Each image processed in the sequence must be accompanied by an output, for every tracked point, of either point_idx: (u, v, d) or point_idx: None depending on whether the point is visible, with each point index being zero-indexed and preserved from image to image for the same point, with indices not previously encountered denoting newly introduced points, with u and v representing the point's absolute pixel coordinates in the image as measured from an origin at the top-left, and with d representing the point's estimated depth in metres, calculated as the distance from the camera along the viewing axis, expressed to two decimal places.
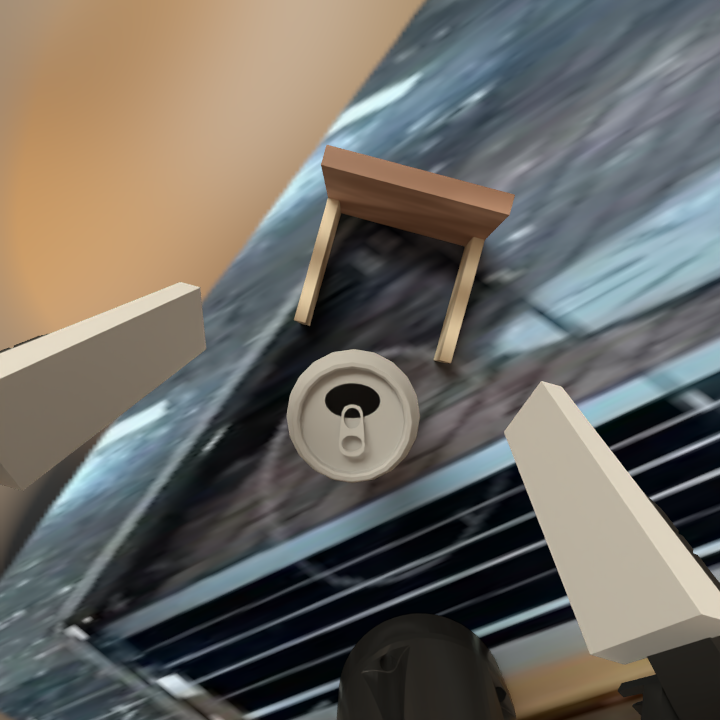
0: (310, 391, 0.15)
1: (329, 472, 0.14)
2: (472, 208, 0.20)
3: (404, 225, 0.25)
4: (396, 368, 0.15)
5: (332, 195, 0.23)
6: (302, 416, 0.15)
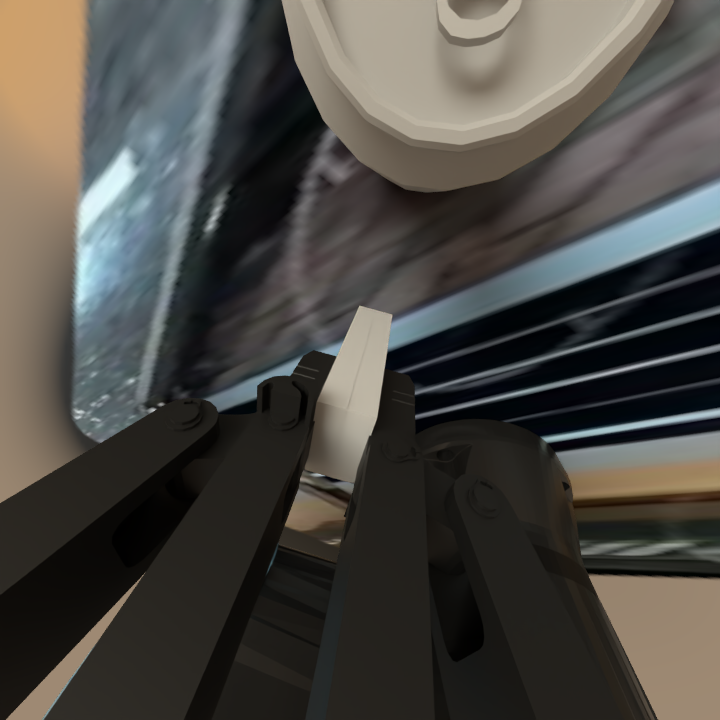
0: None
1: (403, 121, 0.05)
2: None
3: None
4: None
5: None
6: None
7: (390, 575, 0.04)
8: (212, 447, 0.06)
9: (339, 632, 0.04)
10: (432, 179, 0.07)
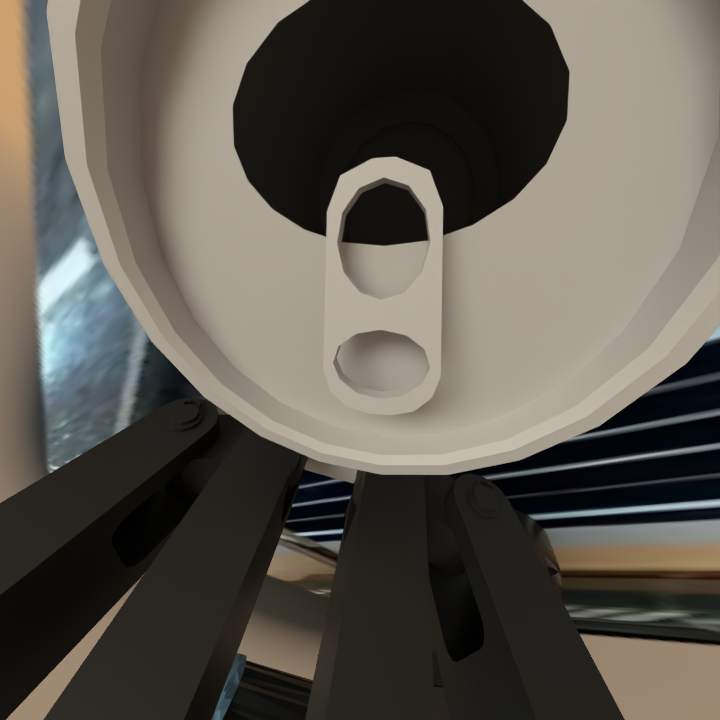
0: (144, 89, 0.03)
1: (304, 445, 0.04)
2: None
3: None
4: None
5: None
6: (164, 241, 0.03)
7: (390, 575, 0.04)
8: (212, 447, 0.06)
9: (339, 632, 0.04)
10: None
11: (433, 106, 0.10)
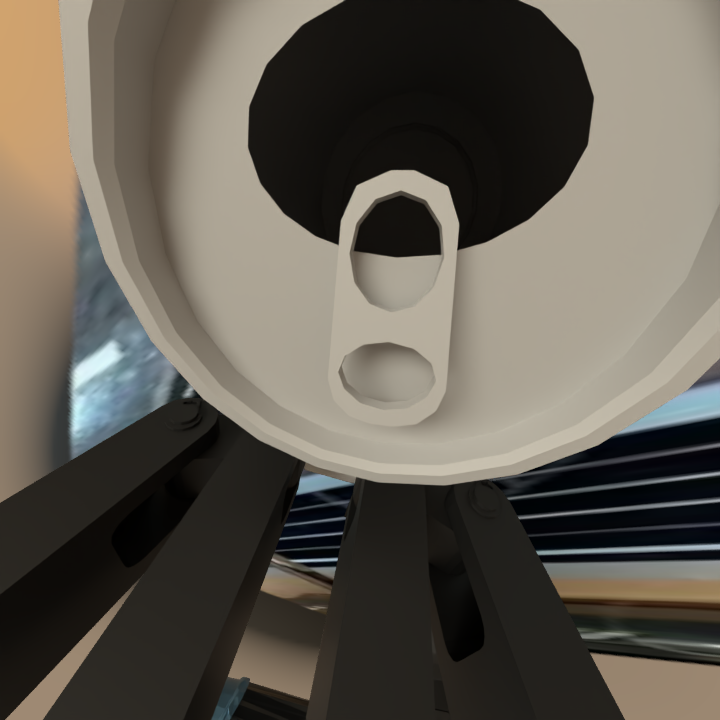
0: (156, 83, 0.02)
1: (303, 450, 0.04)
2: None
3: None
4: None
5: None
6: (169, 240, 0.03)
7: (391, 575, 0.04)
8: (212, 447, 0.06)
9: (340, 632, 0.04)
10: None
11: (441, 109, 0.10)
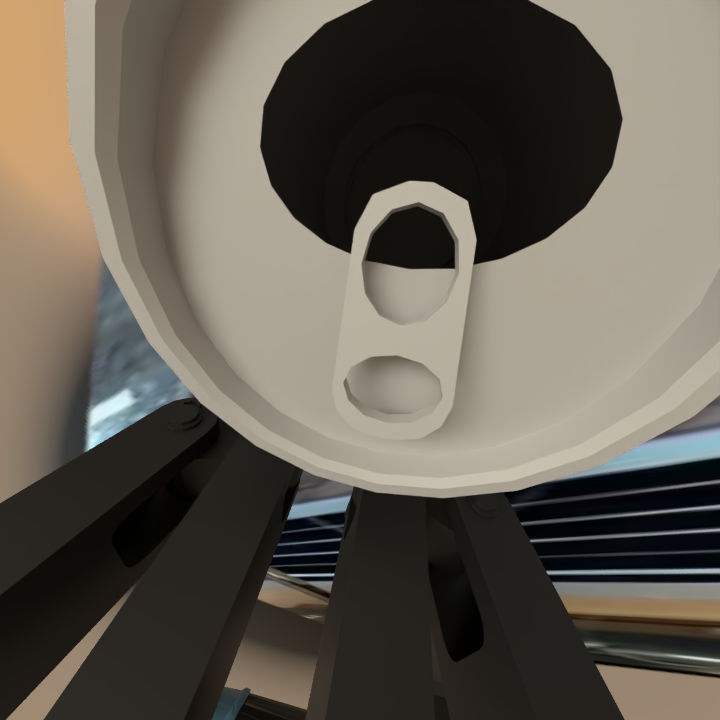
0: (166, 72, 0.02)
1: (301, 458, 0.04)
2: None
3: None
4: None
5: None
6: (171, 237, 0.03)
7: (390, 575, 0.04)
8: (212, 447, 0.06)
9: (339, 632, 0.04)
10: None
11: (449, 111, 0.10)
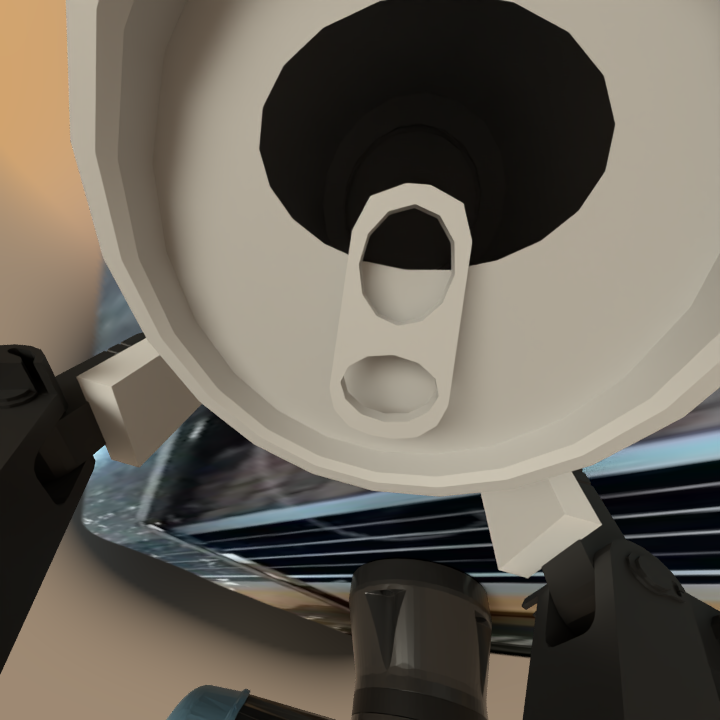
0: (166, 75, 0.02)
1: (299, 456, 0.04)
2: None
3: None
4: None
5: None
6: (171, 238, 0.03)
7: None
8: None
9: None
10: None
11: (449, 112, 0.10)
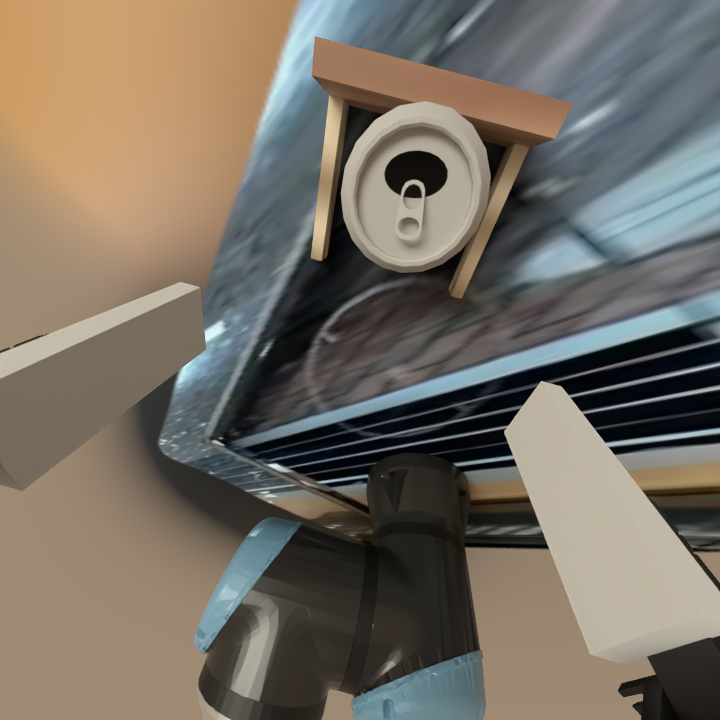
0: (368, 160, 0.13)
1: (382, 255, 0.14)
2: (508, 127, 0.16)
3: None
4: (475, 134, 0.12)
5: (334, 94, 0.18)
6: (359, 192, 0.14)
7: None
8: None
9: None
10: (395, 268, 0.16)
11: None
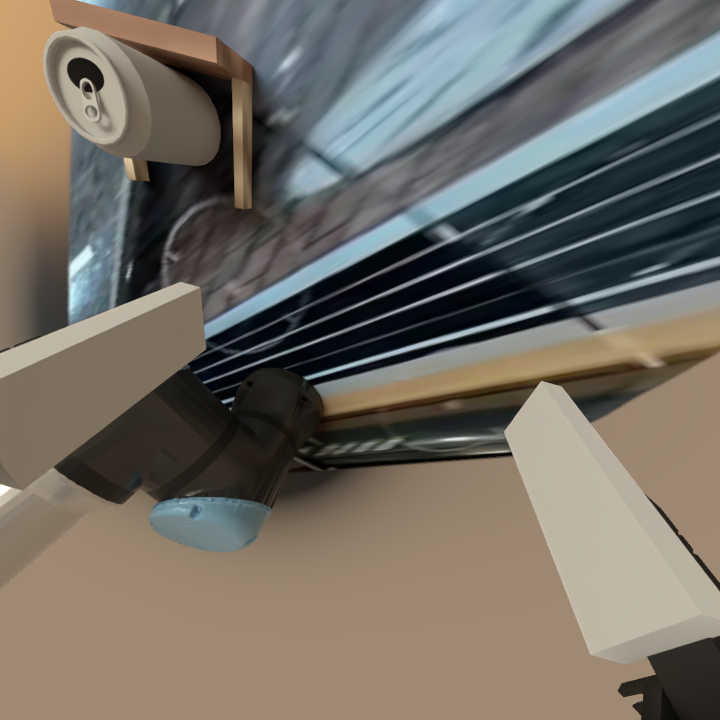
0: (55, 65, 0.20)
1: (88, 136, 0.22)
2: (189, 56, 0.23)
3: (180, 66, 0.27)
4: (117, 48, 0.20)
5: None
6: (60, 90, 0.21)
7: None
8: None
9: None
10: (116, 153, 0.23)
11: None
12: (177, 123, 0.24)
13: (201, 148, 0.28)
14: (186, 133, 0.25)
